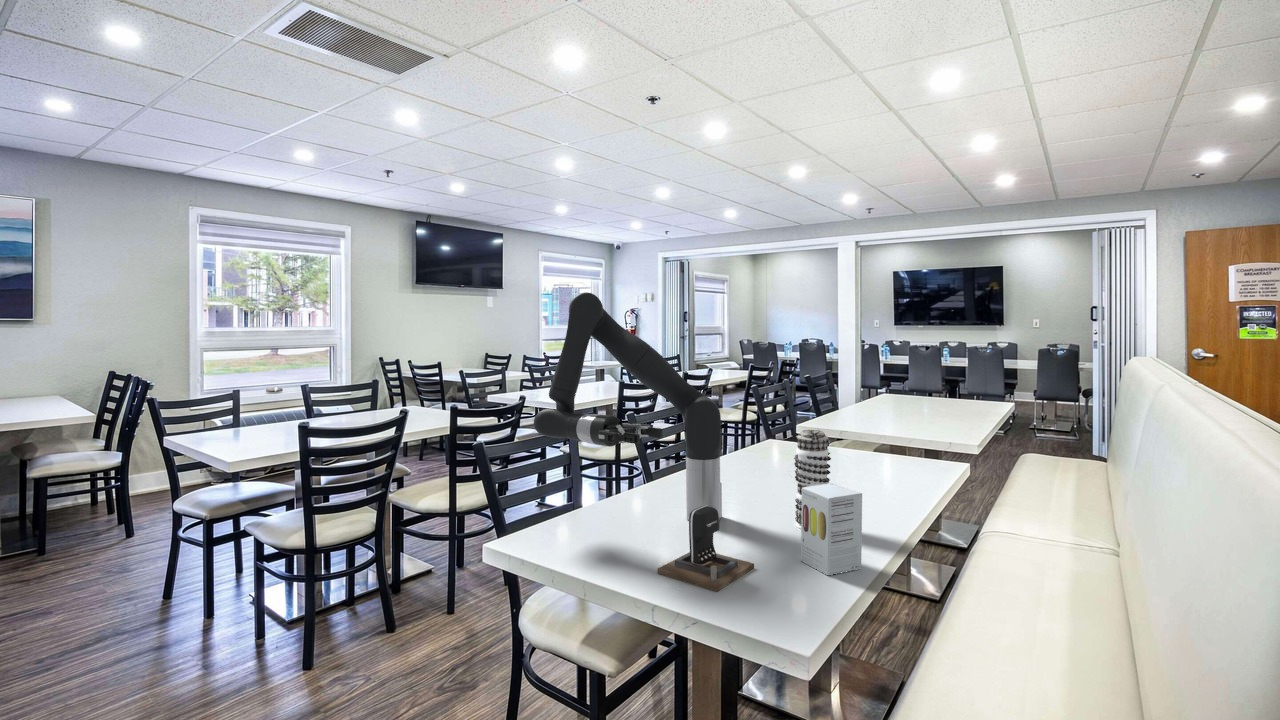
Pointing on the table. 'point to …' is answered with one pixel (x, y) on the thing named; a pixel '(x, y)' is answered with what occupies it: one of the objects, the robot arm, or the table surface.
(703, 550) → the battery charger
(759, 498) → the table surface
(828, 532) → the supplement box
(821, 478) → the decorative candle
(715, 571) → the locating plate
